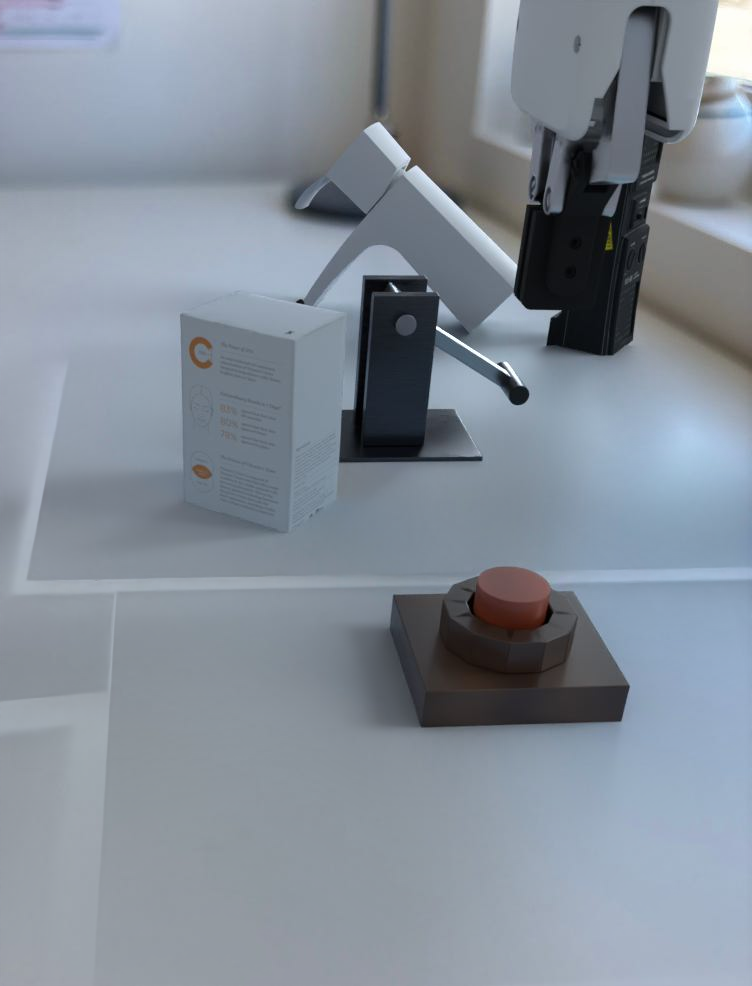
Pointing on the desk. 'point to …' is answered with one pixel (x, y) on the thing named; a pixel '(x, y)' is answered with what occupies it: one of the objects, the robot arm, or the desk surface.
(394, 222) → the faucet
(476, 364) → the tap lever
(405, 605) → the button block
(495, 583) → the button
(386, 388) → the bracket
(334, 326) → the small box
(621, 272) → the portable radio
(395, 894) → the desk surface
